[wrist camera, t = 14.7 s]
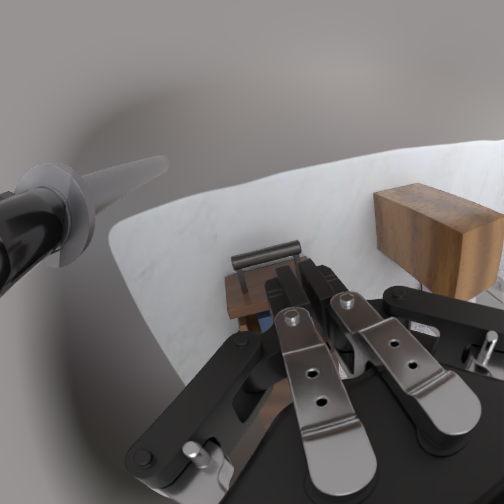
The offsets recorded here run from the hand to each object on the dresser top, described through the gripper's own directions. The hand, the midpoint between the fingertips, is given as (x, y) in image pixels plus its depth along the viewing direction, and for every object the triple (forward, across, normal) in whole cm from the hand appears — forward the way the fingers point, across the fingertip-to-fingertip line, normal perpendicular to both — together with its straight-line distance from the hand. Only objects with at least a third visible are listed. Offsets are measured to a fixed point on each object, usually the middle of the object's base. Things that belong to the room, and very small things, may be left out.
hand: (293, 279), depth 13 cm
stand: (+19, -20, +6) cm, 28 cm away
